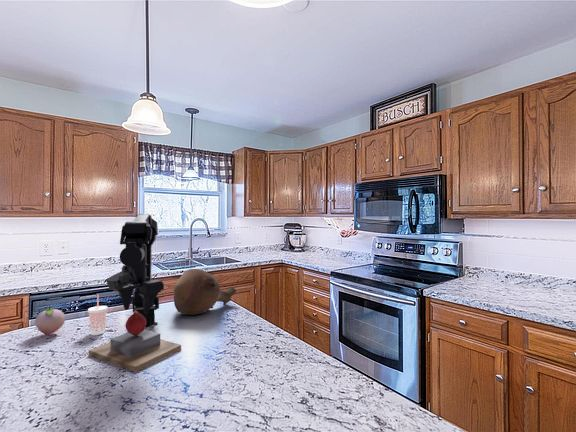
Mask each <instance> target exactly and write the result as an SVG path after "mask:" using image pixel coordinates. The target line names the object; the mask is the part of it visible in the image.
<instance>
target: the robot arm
mask: <svg viewBox="0 0 576 432" xmlns="http://www.w3.org/2000/svg"><path fill="white" fill-rule="evenodd" d="M158 226H159V225H158V221H156V220H155V219H154V218H153V217H152V214H149V213H138V214H135V218H134V220H132V221H125V223H124V224H123V225H122V227H121V233H120V239H119V245H125V247H124V248H123V249H122V250H121V252H120V253H119V261H120V262H121V264H123V265H122V267H121V271H120V272H116V273H115V274H113V275H111V276H109V277H107V278H106V279H105V282H106V284H107V286H108V289H109V290H110V291H111V290H113V291H115V292H116V293H117V294H118V295H119V298H120V301H121V303H122V305H123V309H124V310H125V311H127V310H130V309H129V308H130V306H131V303H132V313H134V311H135V310H136V311H137V312H138V313H139V314H142V315H143V316H144V318H145V319H146V327H145V329H148V328H150V327H151V328H152V327H153V326H155V325H158V324H159V323H158V322H157V321H156V317H155V316H156V314H155V311H157V310H158V309H160V299H159V297H158V295H159V293H161V292H162V291H163V290H165V289H164V288H165V283H164V282H163V280H159V279H158V280H157V279H152V254H153V253H152V251H153V250H152V248H153V247H152V246H153V245H154V243H155V242H156V240H157V236H158V235H159V233H158V231H159V230H158V228H159V227H158ZM134 288H136V289H135V291H134Z"/></svg>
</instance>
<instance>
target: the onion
mask: <svg viewBox="0 0 576 432" xmlns="http://www.w3.org/2000/svg"><path fill="white" fill-rule="evenodd" d="M132 313H133V314H131V315H130V316H129V317H128V318H127V320H126V321H125V330H126V331H127V333H128V332H129V333H130V334H132V335H133V336H137V335H139V334H140V333H141V332H142V331H143V330H146V328H145V327H146V319H145V318H144V316H143V315H142V314H139V313H138V312H137V311H136V310H135V311H134V312H132Z"/></svg>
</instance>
